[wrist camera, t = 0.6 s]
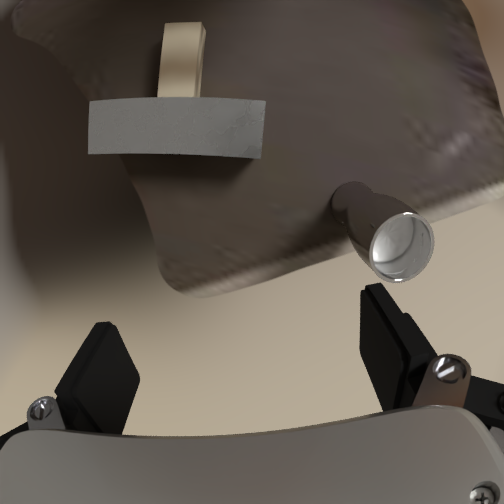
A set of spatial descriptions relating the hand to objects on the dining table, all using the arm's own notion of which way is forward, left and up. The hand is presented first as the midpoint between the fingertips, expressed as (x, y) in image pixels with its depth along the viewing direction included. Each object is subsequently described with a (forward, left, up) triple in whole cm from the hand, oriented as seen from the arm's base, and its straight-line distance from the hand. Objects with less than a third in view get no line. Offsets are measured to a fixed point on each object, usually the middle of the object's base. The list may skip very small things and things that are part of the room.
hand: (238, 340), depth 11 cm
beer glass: (+1, +14, -29) cm, 32 cm away
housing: (-7, -8, -29) cm, 31 cm away
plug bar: (-12, -8, -29) cm, 33 cm away
